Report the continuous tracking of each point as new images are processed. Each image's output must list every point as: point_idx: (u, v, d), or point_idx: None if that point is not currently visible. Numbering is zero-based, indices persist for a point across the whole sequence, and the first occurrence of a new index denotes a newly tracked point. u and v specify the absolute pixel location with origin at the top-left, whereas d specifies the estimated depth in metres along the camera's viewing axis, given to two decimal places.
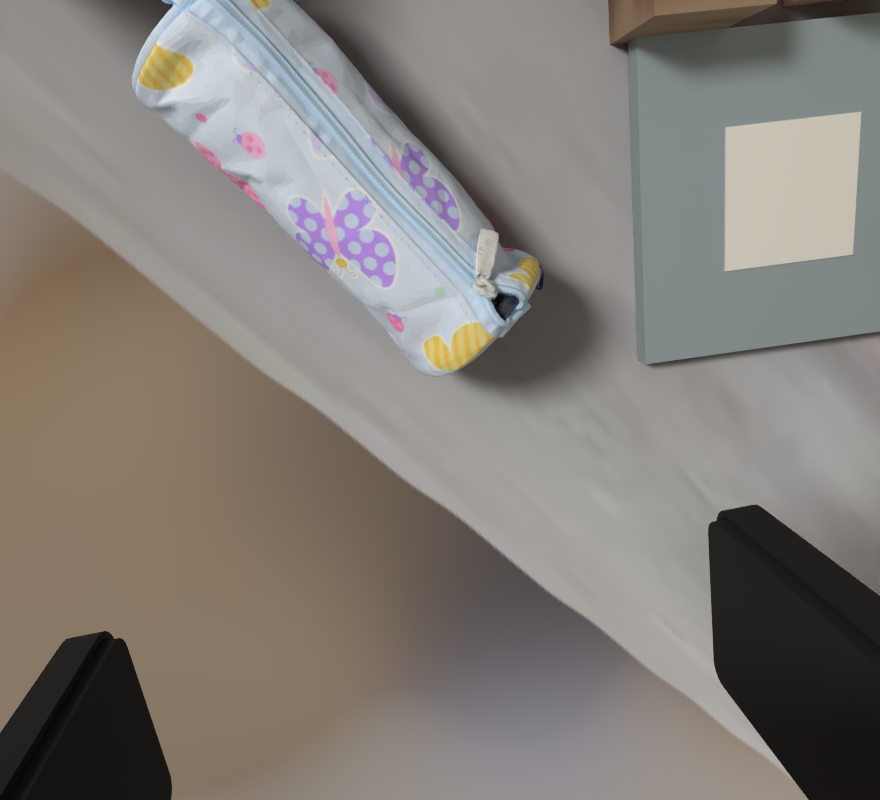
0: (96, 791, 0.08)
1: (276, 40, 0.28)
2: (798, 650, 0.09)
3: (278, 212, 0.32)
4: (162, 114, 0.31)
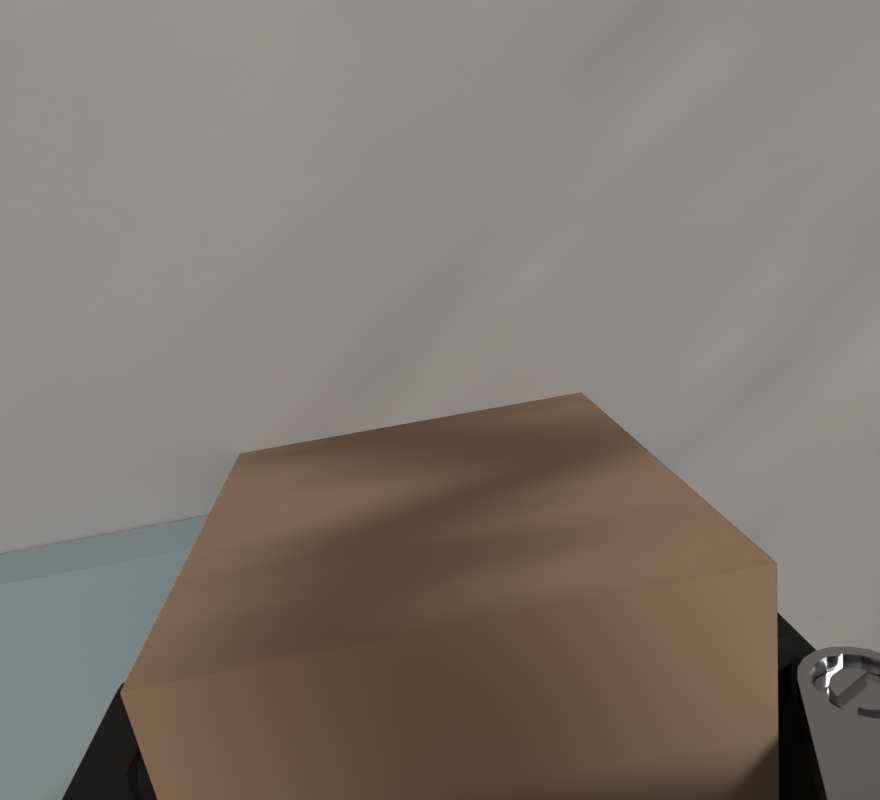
0: None
1: None
2: None
3: None
4: None
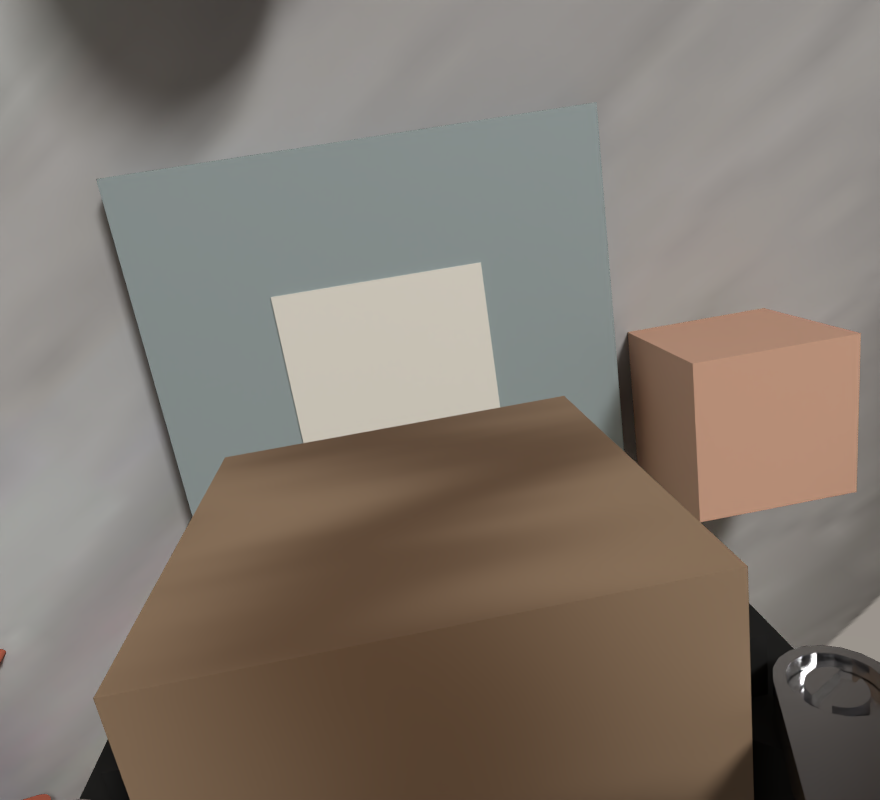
0: None
1: None
2: None
3: None
4: None
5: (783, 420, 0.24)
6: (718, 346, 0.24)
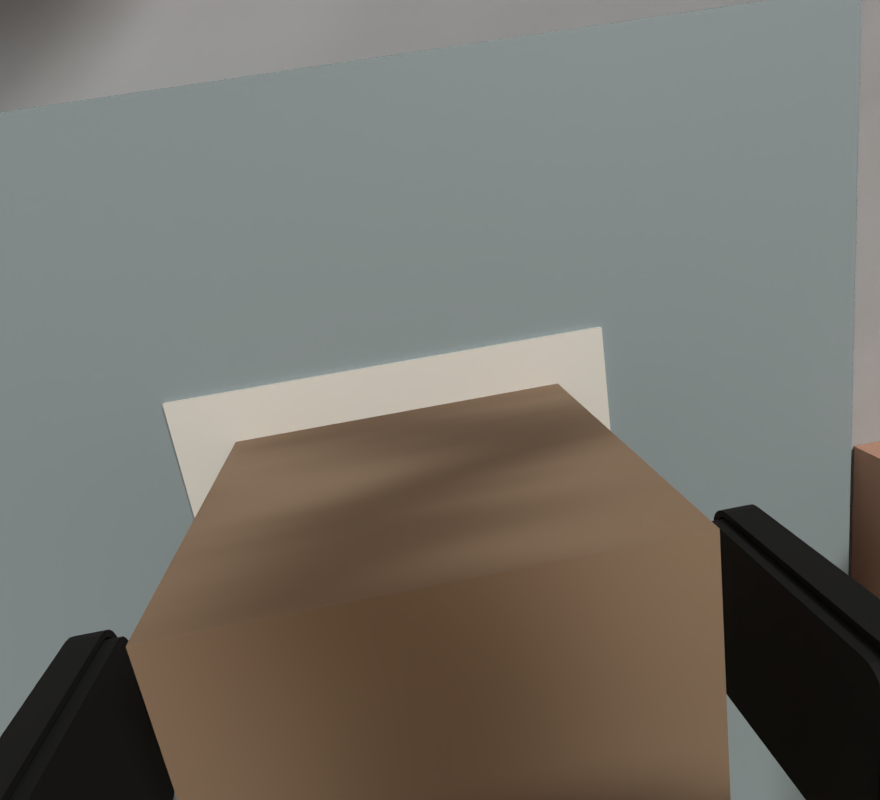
0: (100, 788, 0.08)
1: None
2: (794, 649, 0.09)
3: None
4: None
5: None
6: None
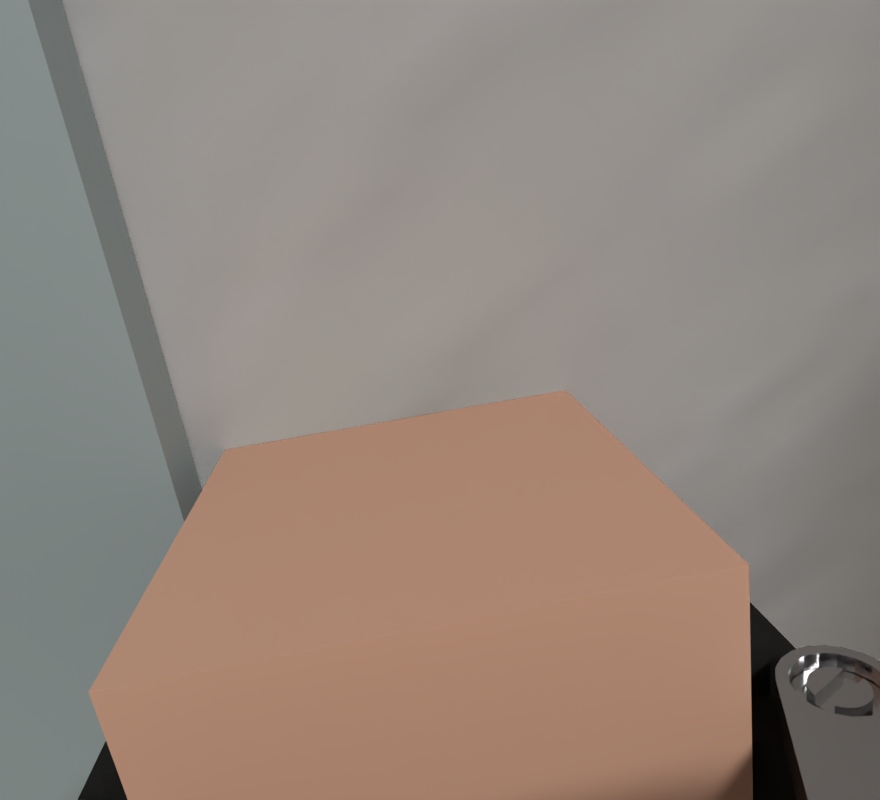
0: None
1: None
2: None
3: None
4: None
5: None
6: (298, 568, 0.07)
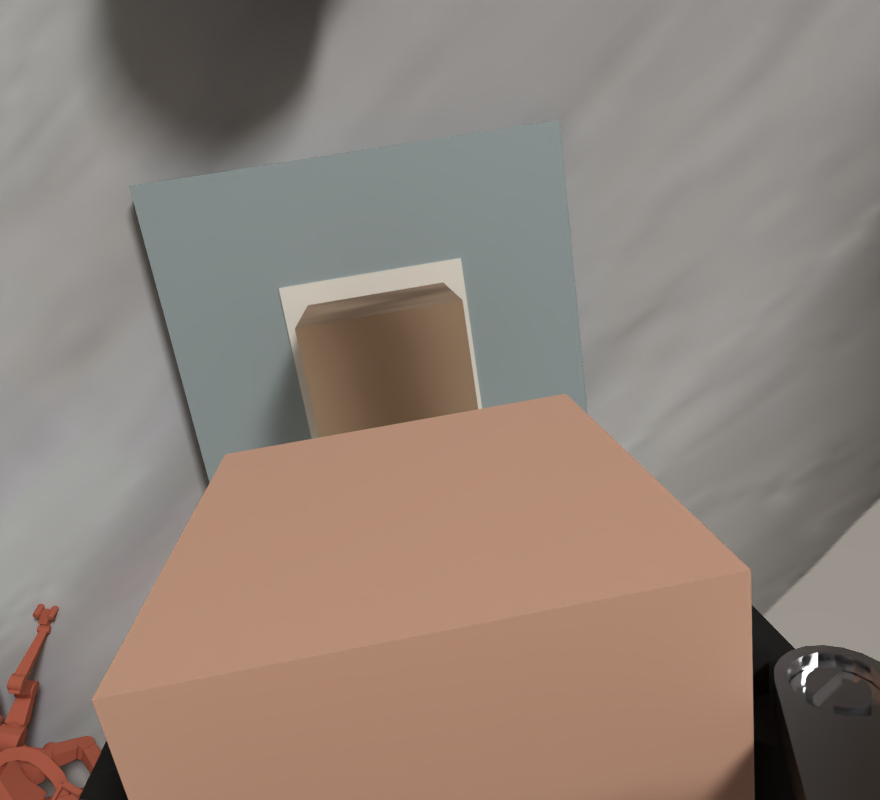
0: None
1: None
2: None
3: None
4: None
5: None
6: (300, 574, 0.07)
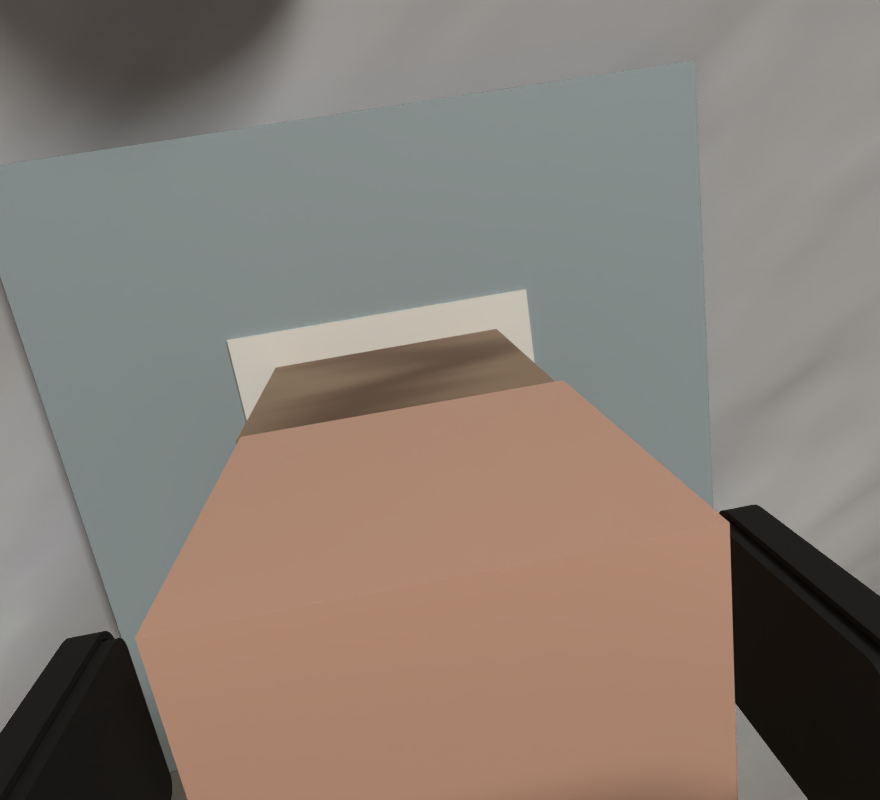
0: (97, 791, 0.08)
1: None
2: (798, 650, 0.09)
3: None
4: None
5: (494, 785, 0.08)
6: (318, 533, 0.08)
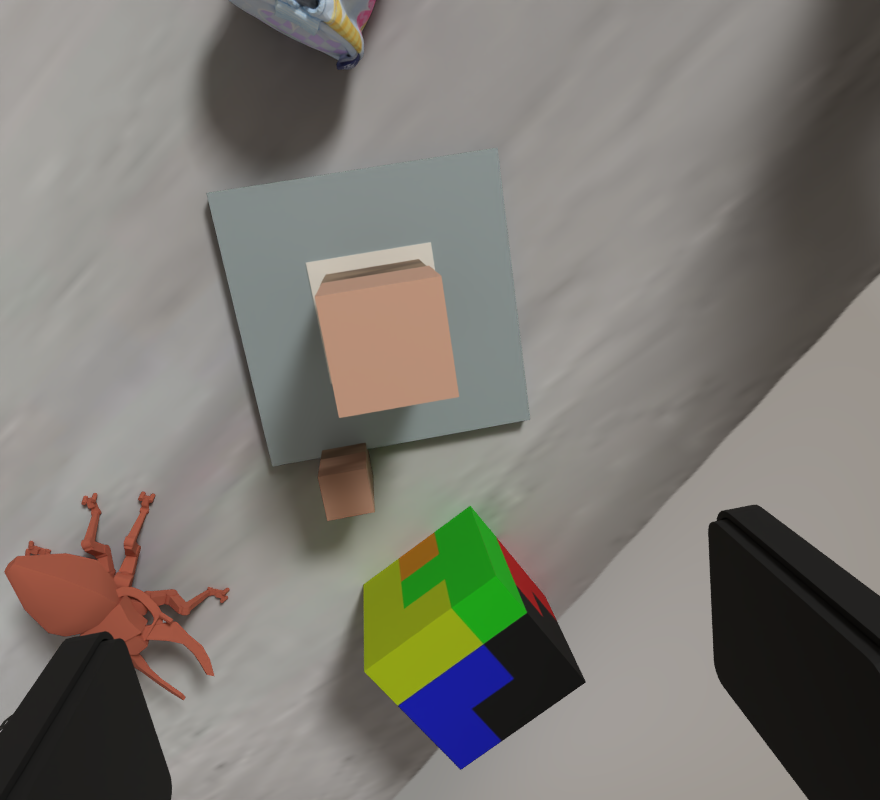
0: (96, 791, 0.08)
1: None
2: (798, 650, 0.09)
3: None
4: None
5: (392, 340, 0.33)
6: (351, 287, 0.33)
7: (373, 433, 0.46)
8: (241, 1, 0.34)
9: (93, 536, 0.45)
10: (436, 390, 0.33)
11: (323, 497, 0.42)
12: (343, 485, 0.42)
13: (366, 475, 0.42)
